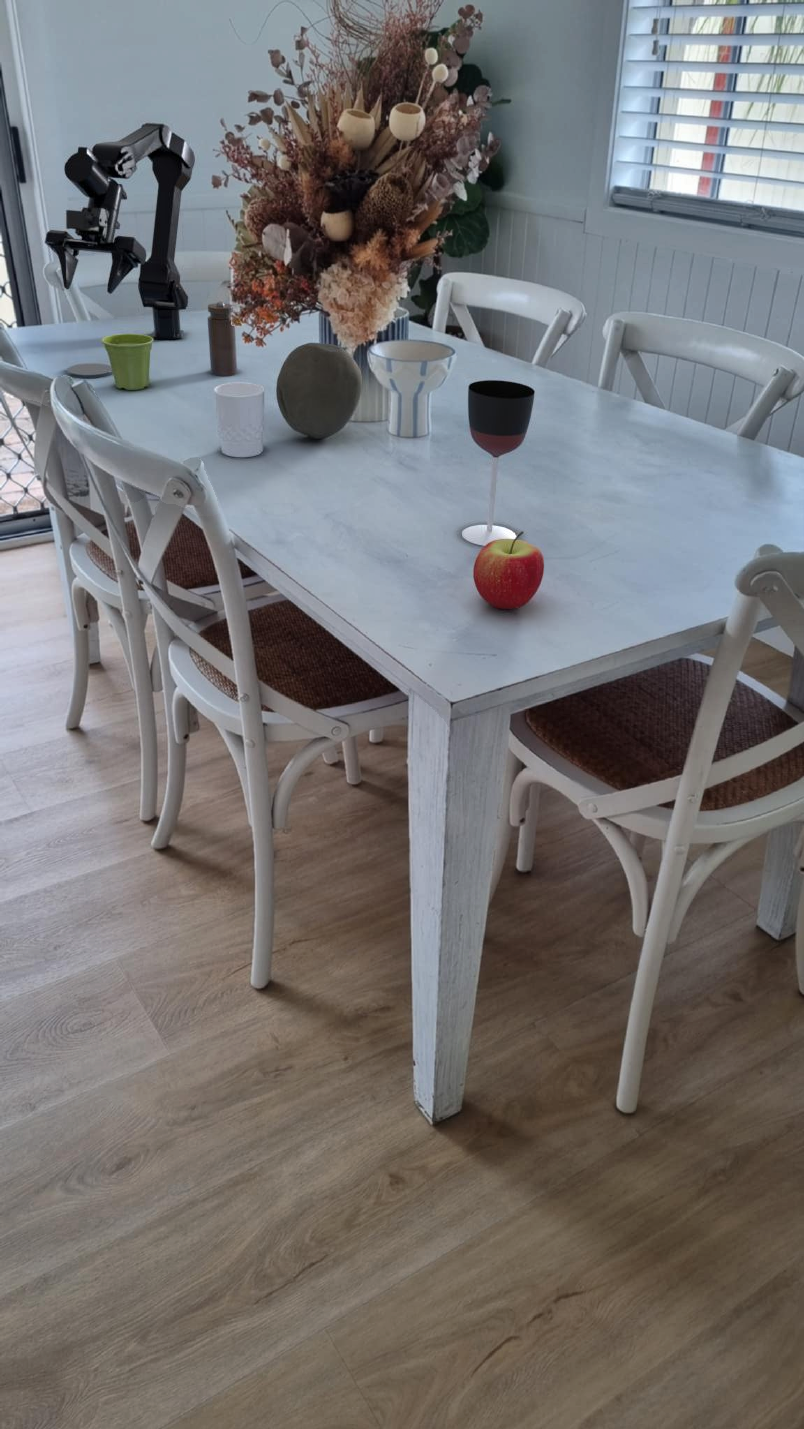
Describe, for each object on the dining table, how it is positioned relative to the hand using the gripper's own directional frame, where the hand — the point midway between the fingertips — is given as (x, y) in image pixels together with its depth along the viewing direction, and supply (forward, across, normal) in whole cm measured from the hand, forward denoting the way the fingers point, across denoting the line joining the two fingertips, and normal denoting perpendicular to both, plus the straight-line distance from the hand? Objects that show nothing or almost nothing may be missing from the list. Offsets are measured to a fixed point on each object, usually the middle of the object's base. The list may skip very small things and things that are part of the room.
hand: (87, 290), depth 203 cm
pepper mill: (+8, +24, +15) cm, 29 cm away
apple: (+54, +98, -54) cm, 124 cm away
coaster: (+14, 0, +6) cm, 15 cm away
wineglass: (+43, +92, -37) cm, 108 cm away
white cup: (+32, +46, -20) cm, 60 cm away
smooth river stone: (+25, +55, -10) cm, 61 cm away
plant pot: (+17, +12, +2) cm, 21 cm away
